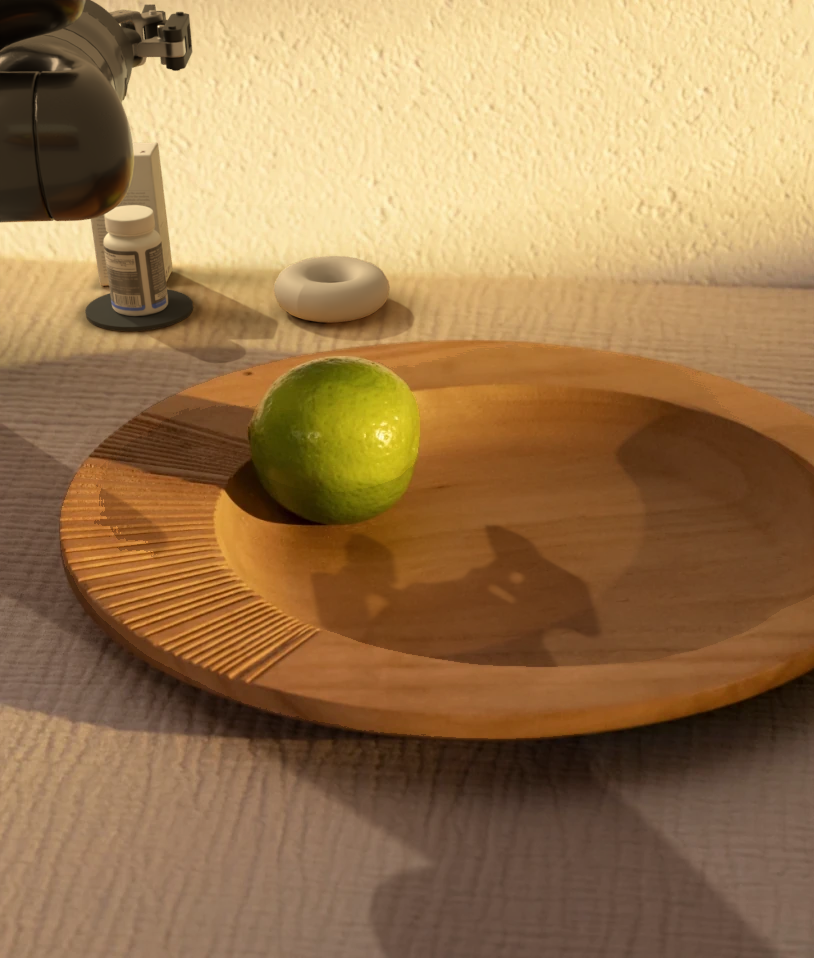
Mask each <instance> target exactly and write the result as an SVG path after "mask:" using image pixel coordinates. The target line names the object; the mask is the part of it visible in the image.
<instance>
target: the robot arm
mask: <svg viewBox="0 0 814 958" xmlns="http://www.w3.org/2000/svg"><path fill="white" fill-rule="evenodd" d="M166 15H167V14H166V11H164V10H157V8H156V4H155V3H154V4H144V5H143V8H142V12H140V11H137V10H130V9H119V10H114V11H110V12H109V11H108V10H107V9H105V7H103V6H101V5H100V4H98V3H97V2H96V1H94V0H0V223H28V222H29V223H31V222H32V223H33V222H34V223H35V222H53V221H55V222H78V221H85V220H86V221H87V220H91V219H92V218H96V217H99V216H102V215H104V214H106V213H108V212H109V211H111V210H113V209H114V208H115V207H116V206H117V205H119V204H120V203H121V201H122V200H123V199H124V197H125V196H126V193H127V191H128V189H129V187H130V183H131V179H132V175H133V168H134V150H133V143H134V141H133V136H132V130H131V126H130V122H129V119H128V115H127V112H126V111H125V110H126V109H125V108H124V105H123V101H125V98H126V97H127V94H128V88H129V82H130V79H131V75H132V70H133V68H138V67H141V66H144V65H145V64H146V61H147V58H160V59H159V61H160V64H161V65H163V66H165V69H167V70H171V71H173V72H174V71H175V72H179V71H181V70H183V69H185V68H186V67H187V65H188V63H189V61H190V58H191V56H192V54H193V43H192V30H191V19H190V13H186V12H184V11H176V12H174V13H171V14H170V15H169V17H168V18H167V16H166Z"/></svg>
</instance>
